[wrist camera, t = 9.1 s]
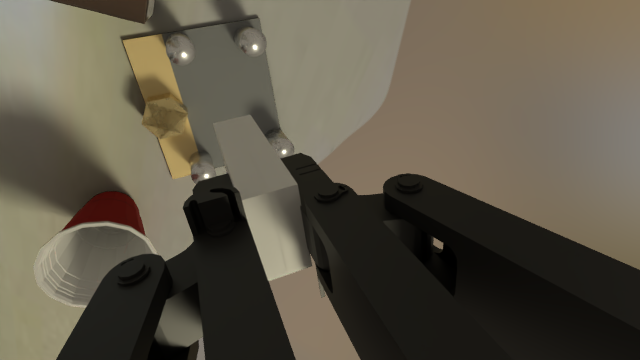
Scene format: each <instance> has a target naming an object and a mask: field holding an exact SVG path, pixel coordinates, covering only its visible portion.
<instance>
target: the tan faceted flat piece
mask: <svg viewBox="0 0 640 360" xmlns="http://www.w3.org/2000/svg"><path fill="white" fill-rule="evenodd" d="M187 116H188V109H187V107H186V106H184V105H183V104H182V103H181V102H180V101H179V100H178V99H177V98H176V97H175V96H174V95H173V94H172V93H166V94H161V95H156V96H151V97H148V99H147V103H146V107H145V112H144V116H143V120H142V125H144V126H145V127H146V128H147V129H148V130H150V131H151V132H152V133H153V134H154V135H155V136H157V137H158V138H159V139H164V138H168V137H172V136H177V135H181V134H183V131H184V127H185V124H186V120H187Z"/></svg>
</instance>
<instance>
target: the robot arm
mask: <svg viewBox="0 0 640 360" xmlns="http://www.w3.org/2000/svg"><path fill="white" fill-rule="evenodd" d="M213 125H214V128H215V132H216V136H217V139H218V143H219V146H220V150H221V153H222V157H223V161H224V164H225V168H226V171H227V174H224V175H220V176H216V177H213V178H209V179H205V180H201V181H198V183H197V184H196V186H195V187H194V189H193V195H192V196H190V197H189V198H188V199H187V200H186V201H185V203H184V206H183V210H184V212H185V215H186V218H187V221H188V223H189V226H190V229H191V232H192V234H193V239H194V242H193V243H192V244H191V245H190V246H189V247H188V248H187V249H186V250H185V251H183V252H182V253H180V254H178V255H177V256H175V257H173V258H171V259H169V260H167V261H164V259H163V258H162V257H161V256H159V255H156V254H141V255H138V256H134V257H131V258H128V259H127V260H124V261H122V262H120V263H119V264H118V265H116V266H115V267H114V268H112V269H111V270H110V271H109V272H108V273H107V274H106V275H105V277H104V278H103V279H102V281H101V282H100V284H99V286H98V288H97V289H96V291H95V293H94V295H93V296H92V298H91V300H90V302H89V303H88V305H87V307H86V309H85V310H84V312H83V314H82V315H81V317H80V319H79V321H78V322H77V324H76V326H75V328H74V329H73V331H72V333H71V335H70V336H69V338H68V340H67V341H66V343H65V345H64V347H63V348H62V350H61V352H60V354H59V355H58V357H57V359H56V360H196V358H197V353H198V349H199V343H198V342H199V339H200V338H202V337H203V341H204V351H205V360H296V359H295V357H294V354H293V351H292V348H291V345H290V342H289V339H288V336H287V334H286V330H285V328H284V325H283V322H282V319H281V316H280V313H279V311H278V308H277V305H276V302H275V299H274V296H273V293H272V290H271V288H270V284H269V282H268V281H271V280H274V279H276V278H279V277H282V276H285V275H288V274H291V273H294V272H297V271H299V270H302V269H305V268H308V267H311V266H312V263H311V257H310V254H311V256H312V258H313V259H314V261H315V264H316V270H317V276H318V282H319V287H320V293H321V297H325V292H326V294H327V296H328V298H329V300H330V301H331V303H332V305H333V307H334V309H335V311H336V313H337V315H338V317H339V319H340V321H341V323H342V325H343V327H344V328H345V330H346V332H347V334H348V336H349V338H350V340H351V342H352V344H353V346H354V348H355V350H356V352H357V353H358V356H359V357H360V359H361V360H640V270H639V269H636V268H634V267H631V266H630V265H627V264H625V263H623V262H620V261H618V260H616V259H613V258H611V257H609V256H606V255H604V254H602V253H600V252H597V251H595V250H593V249H590V248H588V247H586V246H584V245H581V244H579V243H577V242H574V241H572V240H570V239H568V238H565V237H563V236H561V235H558V234H556V233H554V232H551V231H549V230H547V229H545V228H542V227H540V226H537V225H535V224H533V223H531V222H528V221H526V220H524V219H522V218H519V217H517V216H515V215H512V214H510V213H508V212H506V211H503V210H501V209H499V208H496V207H494V206H492V205H489V204H487V203H485V202H483V201H480V200H477V199H476V198H473V197H471V196H469V195H467V194H464V193H462V192H460V191H457V190H455V189H453V188H450V187H448V186H446V185H443V184H441V183H439V182H437V181H434V180H432V179H430V178H427V177H425V176H421V175H417V174H400V175H398V176H394V177H391V178H390V179H388V180H387V181H386V182H385V183H384V186H383V193H382V194H373V195H357V194H356V193H355V192H354V191H353V189H352V188H350V187H349V186H347V185H345V184H340V183H333V182H332V180H331V179H330V178H329V177H328V176H327V175H326V174H325V173H324V171H323V170H321V168H320V167H319V166H318V165H317V164H316V162H315V161H314V160H313V159H312V158H311V157H310V156H307V155H304V154H302V153H299V154H295V155H291V156H287V157H284V158H279V156H278V155H277V153H276V152H275V150H274V149H273V147H272V146H271V144H270V143H269V141H268V140H267V138H266V137H265V136H264V134H263V133H262V131H261V130H260V128H259V127H258V125H257V124H256V122H255V121H254V119H253V118H252V116H251V115H247V116H242V117H238V118H234V119H229V120H225V121H221V122H216V123H213ZM433 237H434V238H436V239H438V240H439V241H441V242H443V250H442V249H439V248H437V247H435V246H434V245H433ZM324 290H325V292H324Z"/></svg>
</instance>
